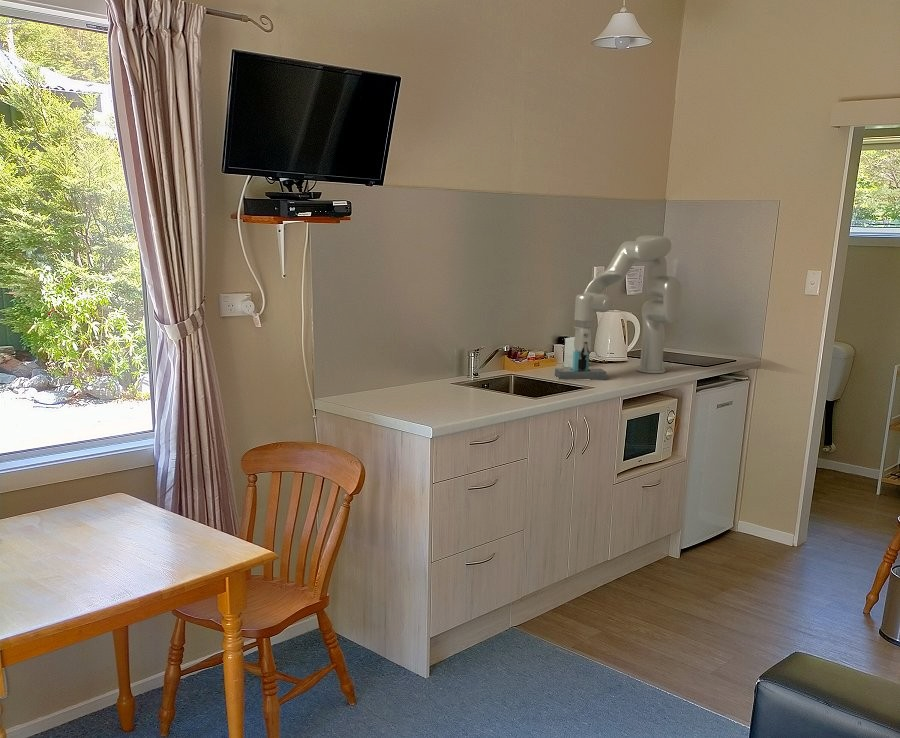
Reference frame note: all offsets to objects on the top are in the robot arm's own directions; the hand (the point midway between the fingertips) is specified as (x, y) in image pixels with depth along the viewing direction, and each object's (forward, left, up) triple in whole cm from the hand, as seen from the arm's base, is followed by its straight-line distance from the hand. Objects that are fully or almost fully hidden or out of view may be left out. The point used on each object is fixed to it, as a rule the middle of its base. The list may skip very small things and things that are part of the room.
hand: (580, 367), depth 336 cm
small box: (-5, -27, -5) cm, 27 cm away
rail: (0, 0, -5) cm, 5 cm away
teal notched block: (0, 0, -2) cm, 2 cm away
